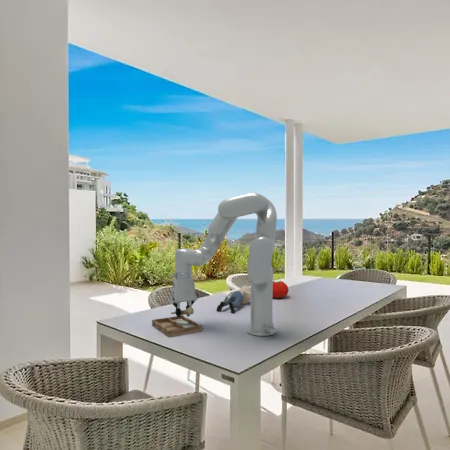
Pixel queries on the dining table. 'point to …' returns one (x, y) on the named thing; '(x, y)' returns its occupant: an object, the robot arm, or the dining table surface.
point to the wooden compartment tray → (176, 326)
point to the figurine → (185, 311)
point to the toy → (236, 298)
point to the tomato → (279, 289)
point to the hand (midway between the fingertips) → (183, 315)
